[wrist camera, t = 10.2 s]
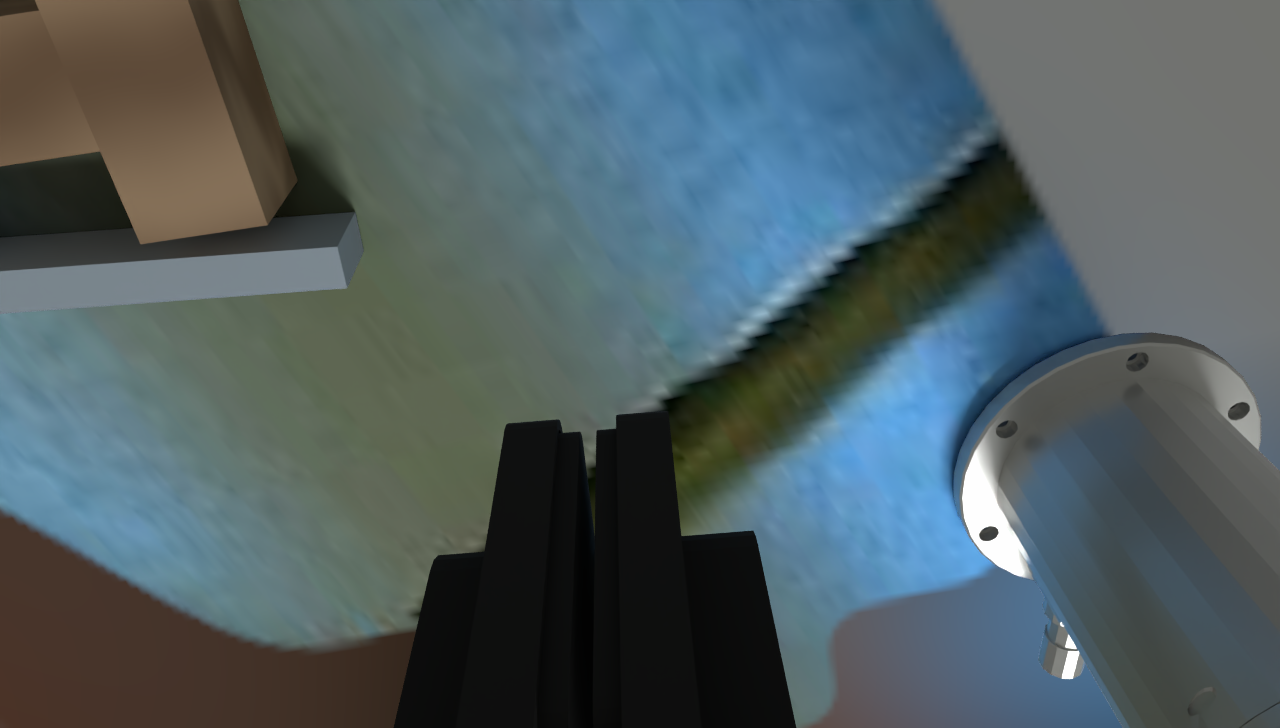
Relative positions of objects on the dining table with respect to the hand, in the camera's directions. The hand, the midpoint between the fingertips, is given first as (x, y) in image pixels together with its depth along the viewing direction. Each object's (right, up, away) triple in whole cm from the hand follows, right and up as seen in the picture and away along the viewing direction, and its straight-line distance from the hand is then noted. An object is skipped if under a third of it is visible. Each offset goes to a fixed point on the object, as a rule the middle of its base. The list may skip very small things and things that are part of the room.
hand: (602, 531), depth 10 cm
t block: (-17, +12, +21) cm, 29 cm away
